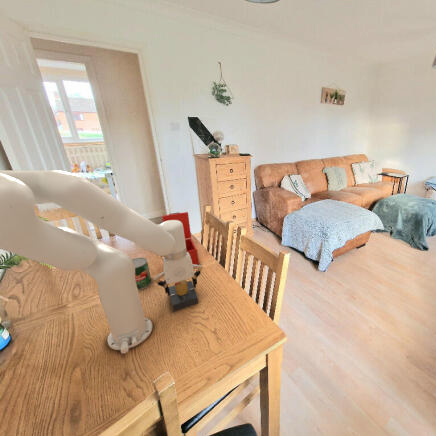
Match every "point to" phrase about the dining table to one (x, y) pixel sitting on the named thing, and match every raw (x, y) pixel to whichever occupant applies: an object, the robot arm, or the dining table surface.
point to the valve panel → (183, 297)
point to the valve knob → (181, 287)
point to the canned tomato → (142, 273)
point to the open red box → (192, 251)
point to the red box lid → (182, 218)
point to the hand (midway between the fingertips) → (181, 289)
